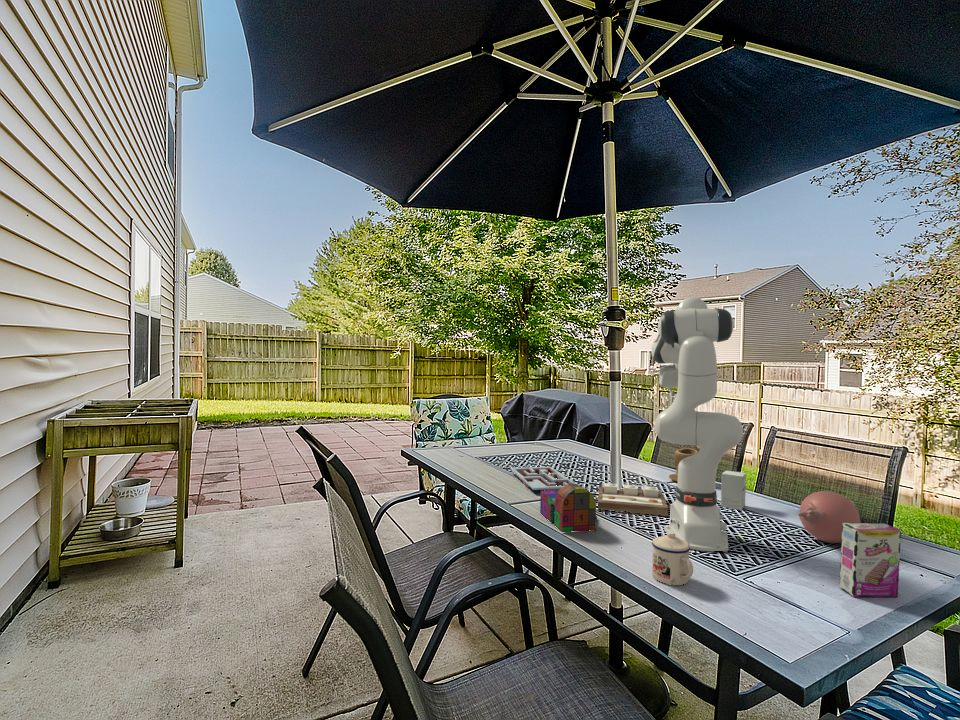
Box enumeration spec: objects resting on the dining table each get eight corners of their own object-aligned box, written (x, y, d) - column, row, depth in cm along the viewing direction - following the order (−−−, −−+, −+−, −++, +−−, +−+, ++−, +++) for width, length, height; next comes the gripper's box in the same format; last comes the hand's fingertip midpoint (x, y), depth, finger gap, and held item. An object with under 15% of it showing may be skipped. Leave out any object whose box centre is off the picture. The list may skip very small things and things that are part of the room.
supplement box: (742, 510, 185) (742, 476, 184) (720, 506, 189) (720, 473, 189) (745, 505, 191) (746, 472, 190) (724, 502, 195) (725, 469, 195)
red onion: (775, 535, 159) (776, 487, 159) (824, 530, 164) (825, 484, 164) (819, 554, 144) (821, 501, 144) (872, 548, 150) (873, 497, 149)
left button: (617, 494, 194) (617, 486, 194) (603, 493, 195) (604, 485, 195) (617, 491, 199) (617, 483, 199) (604, 490, 200) (604, 482, 200)
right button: (658, 498, 190) (658, 490, 190) (644, 497, 191) (644, 488, 191) (656, 494, 195) (657, 486, 195) (643, 493, 196) (643, 485, 196)
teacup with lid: (643, 573, 130) (644, 528, 130) (672, 568, 134) (673, 525, 133) (676, 594, 119) (677, 545, 119) (706, 589, 122) (707, 541, 122)
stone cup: (679, 485, 219) (680, 451, 219) (665, 478, 231) (666, 446, 230) (711, 484, 221) (712, 450, 221) (695, 478, 233) (696, 445, 233)
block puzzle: (610, 530, 163) (611, 486, 163) (562, 533, 159) (562, 489, 159) (577, 506, 187) (578, 469, 187) (534, 509, 183) (535, 470, 183)
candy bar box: (854, 598, 118) (856, 529, 118) (838, 588, 124) (840, 522, 123) (900, 598, 119) (902, 529, 119) (882, 588, 124) (884, 522, 124)
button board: (667, 516, 177) (668, 506, 177) (598, 510, 182) (598, 500, 182) (661, 499, 198) (661, 490, 198) (598, 493, 204) (599, 485, 204)
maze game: (510, 474, 236) (510, 468, 236) (550, 473, 240) (550, 466, 239) (533, 495, 201) (533, 487, 201) (579, 493, 205) (579, 485, 205)
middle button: (637, 496, 192) (637, 488, 192) (623, 495, 193) (624, 487, 193) (636, 493, 197) (636, 485, 197) (623, 492, 198) (623, 484, 198)
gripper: (662, 368, 203) (661, 399, 208) (712, 363, 203) (710, 395, 208) (656, 363, 209) (656, 393, 214) (705, 358, 209) (703, 389, 214)
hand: (683, 394), depth 211 cm, fingers open, 8 cm apart
